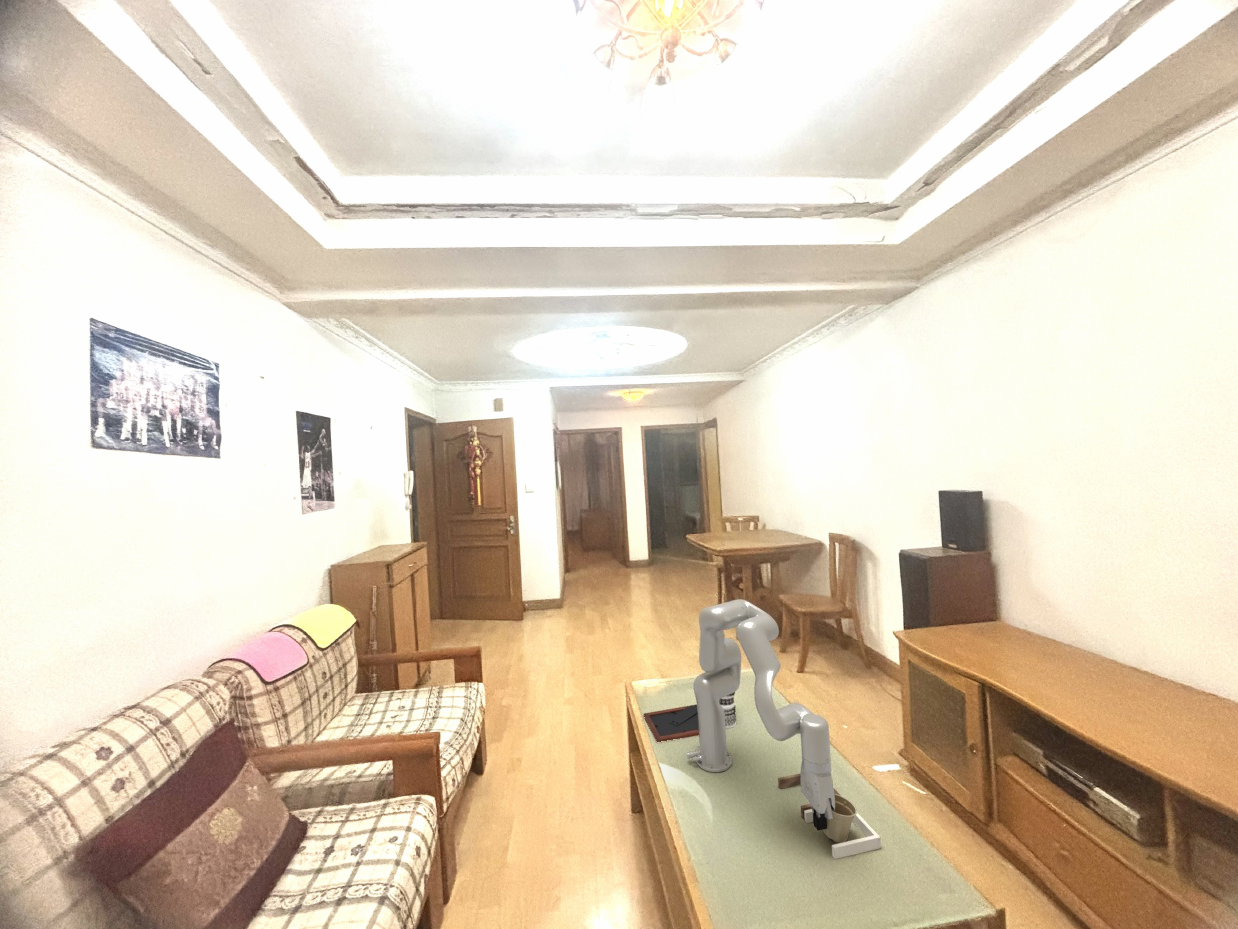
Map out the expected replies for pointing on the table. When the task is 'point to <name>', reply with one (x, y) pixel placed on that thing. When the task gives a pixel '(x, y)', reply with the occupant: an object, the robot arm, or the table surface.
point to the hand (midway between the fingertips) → (820, 827)
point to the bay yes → (853, 846)
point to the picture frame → (673, 723)
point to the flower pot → (840, 820)
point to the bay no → (795, 781)
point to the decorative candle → (729, 710)
